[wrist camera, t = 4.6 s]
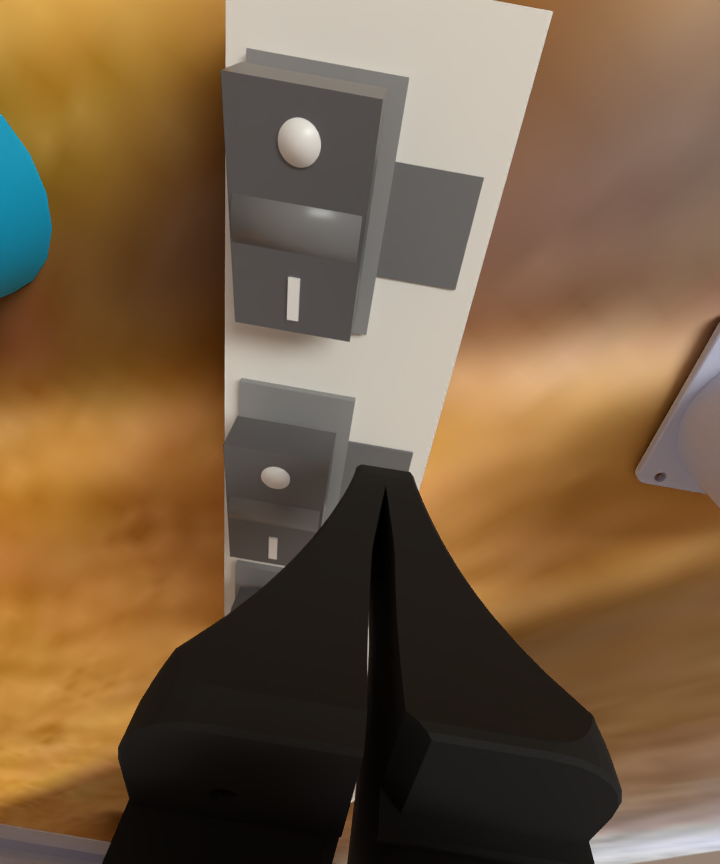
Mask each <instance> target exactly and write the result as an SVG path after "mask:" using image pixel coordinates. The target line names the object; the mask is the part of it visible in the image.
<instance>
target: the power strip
mask: <svg viewBox="0 0 720 864" xmlns="http://www.w3.org/2000/svg"><path fill="white" fill-rule="evenodd" d="M552 13H553V11H548V10H542V9H537V8H532V7H526V6H521V5H515V4H510V3H504V2H499V1H493V0H226V68H227V67H229V66H232V65H235V64H237V63H240V62H246V63H251V64H257V65H262V66H268V67H273V68H279V69H284V70H290V71H295V72H301V73H306V74H312V75H317V76H323V77H328V78H334V79H339V80H345V81H350V82H356V83H361V84H367V85H372V86H378V87H384V88H388V91H387V98H386V105H385V112H384V119H383V126H382V133H381V140H380V147H379V154H378V161H377V168H376V175H375V183H374V190H373V197H372V204H371V211H370V218H369V225H368V232H367V239H366V246H365V253H364V260H363V267H362V274H361V281H360V288H359V295H358V303H357V310H356V317H355V321H354V325H353V329H352V334H351V338H350V342H347V341H341V340H335V339H330V338H324V337H318V336H313V335H307V334H301V333H296V332H290V331H284V330H278V329H273V328H267V327H261V326H256V325H250V324H244V323H239V322H235V313H234V295H233V278H232V260H231V242H230V225H229V207H228V190H227V172H226V155H225V440H226V438H227V436H228V434H229V432H230V430H231V428H232V426H233V424H234V422H235V420H236V418H237V416H241V417H247V418H253V419H259V420H264V421H270V422H276V423H282V424H287V425H293V426H299V427H305V428H310V429H316V430H322V431H328V432H333V433H337V434H336V441H335V448H334V455H333V462H332V469H331V476H330V483H329V490H328V497H327V504H326V511H325V518H324V522H325V521H326V520H327V519H328V517H329V516H330V514H331V513H332V512H333V510H334V509H335V507H336V506H337V504H338V503H339V501H340V500H341V498H342V497H343V495H344V493H345V491H346V490H347V488H348V486H349V484H350V482H351V480H352V478H353V476H354V473H355V470H356V467H357V466H359V465H361V464H363V465H370V466H376V467H382V468H388V469H394V470H401V471H407V472H411V474H412V475H413V476H414V479H415V483H416V485H417V488H418V491H419V490H420V486H421V482H422V479H423V475H424V472H425V468H426V465H427V461H428V457H429V454H430V450H431V447H432V443H433V439H434V436H435V432H436V429H437V425H438V422H439V418H440V414H441V411H442V407H443V404H444V400H445V397H446V393H447V389H448V386H449V382H450V379H451V375H452V371H453V368H454V364H455V361H456V357H457V354H458V350H459V346H460V343H461V339H462V336H463V332H464V329H465V325H466V321H467V318H468V314H469V311H470V307H471V303H472V300H473V296H474V293H475V289H476V286H477V282H478V278H479V275H480V271H481V268H482V264H483V260H484V257H485V253H486V250H487V246H488V243H489V239H490V235H491V232H492V228H493V225H494V221H495V218H496V214H497V210H498V207H499V203H500V200H501V196H502V192H503V189H504V185H505V182H506V178H507V175H508V171H509V167H510V164H511V160H512V157H513V153H514V150H515V146H516V142H517V139H518V135H519V132H520V128H521V124H522V121H523V117H524V114H525V110H526V107H527V103H528V99H529V96H530V92H531V89H532V85H533V82H534V78H535V74H536V71H537V67H538V64H539V60H540V56H541V53H542V49H543V46H544V42H545V39H546V35H547V31H548V28H549V24H550V21H551V17H552ZM284 567H285V566H283V565H277V564H271V563H265V562H259V561H253V560H247V559H242V558H236V557H230V548H229V532H228V515H227V499H226V482H225V466H224V617H225V616H226V615H228V614H229V613H230V612H231V607H232V605H233V603H234V600H235V598H236V596H237V594H238V591H239V589H240V587H244V588H250V589H256V590H260V589H261V588H262V587H263V586H264V585H266V584H267V583H268V582H269V581H270V580H271V579H272V578H273V577H274V576H276V575H277V574H278V573H279V572H280V571H281V570H282V569H283V568H284ZM368 655H369V619H368V654H367V673H368Z"/></svg>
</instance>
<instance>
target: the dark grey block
mask: <svg viewBox="0 0 720 864" xmlns="http://www.w3.org/2000/svg"><path fill="white" fill-rule="evenodd" d="M221 84H222V102H223V120H224V137H225V155H226V172H227V190H228V207H229V225H230V242H231V260H232V278H233V295H234V313H235V322H239V323H244V324H250V325H256V326H261V327H267V328H273V329H278V330H284V331H290V332H296V333H301V334H307V335H313V336H318V337H324V338H330V339H335V340H341V341H347V342H350V338H351V334H352V329H353V325H354V321H355V317H356V310H357V303H358V295H359V288H360V281H361V274H362V267H363V260H364V253H365V246H366V239H367V232H368V225H369V218H370V211H371V204H372V197H373V190H374V183H375V175H376V168H377V161H378V154H379V147H380V140H381V133H382V126H383V119H384V112H385V105H386V98H387V91H388V88H384V87H378V86H372V85H367V84H361V83H356V82H350V81H345V80H339V79H334V78H328V77H323V76H317V75H312V74H306V73H301V72H295V71H290V70H284V69H279V68H273V67H268V66H262V65H257V64H251V63H246V62H240V63H237V64H235V65H232V66H229V67H227V68H224V69H222V70H221Z"/></svg>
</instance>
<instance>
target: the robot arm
mask: <svg viewBox="0 0 720 864" xmlns="http://www.w3.org/2000/svg"><path fill="white" fill-rule="evenodd" d="M658 473H662V474H661V475H659V476H657V477H655V475H656V474H658ZM635 476H636V477H637V479H638V480H639V481H640V482H642V483H645V484H651V485H657V486H663V487H668V488H674V489H680V490H686V491H691V492H697V493H703V494H707V495H708V496H709V497H710V498H711V500H712V501H713V502H714V503H715V504H716V505H717V506H718V508H719V509H720V322H719V324H718V325H717V327H716V329H715V331H714V332H713V334H712V336H711V338H710V339H709V341H708V343H707V345H706V347H705V348H704V350H703V352H702V354H701V355H700V357H699V359H698V361H697V362H696V364H695V366H694V368H693V369H692V371H691V373H690V375H689V376H688V378H687V380H686V382H685V383H684V385H683V387H682V389H681V390H680V392H679V394H678V396H677V397H676V399H675V401H674V403H673V405H672V406H671V408H670V410H669V412H668V413H667V415H666V417H665V419H664V420H663V422H662V424H661V426H660V427H659V429H658V431H657V433H656V434H655V436H654V438H653V440H652V441H651V443H650V445H649V447H648V448H647V450H646V452H645V454H644V455H643V457H642V459H641V461H640V462H639V464H638V466H637V468H636V470H635ZM368 619H369V655H368V673H367V654H368ZM118 760H119V763H120V767H121V770H122V774H123V778H124V781H125V785H126V788H127V792H128V796H129V801H128V804H127V806H126V808H125V811H124V813H123V815H122V818H121V820H120V822H119V825H118V827H117V829H116V832H115V834H114V836H113V839H112V841H111V842H107V841H101V840H95V839H89V838H83V837H77V836H71V835H65V834H59V833H53V832H47V831H41V830H35V829H29V828H23V827H17V826H11V825H5V824H0V864H332V861H333V858H334V854H335V850H336V847H337V843H338V839H339V837H341V835H342V832H343V828H344V825H345V821H346V818H347V814H348V810H349V807H350V803H351V800H352V796H353V793H354V789H355V785H356V791H355V800H354V809H353V818H352V827H351V836H350V845H349V854H348V862H347V864H594V860H593V856H592V852H591V848H590V844H589V841H590V839H591V838H592V837H593V836H594V835H595V834H596V833H597V832H598V831H599V830H600V829H601V828H602V827H603V826H604V825H605V824H606V823H607V822H608V821H609V820H610V819H611V818H612V816H613V815H614V813H615V812H616V810H617V809H618V807H619V805H620V804H621V798H622V790H621V787H620V784H619V781H618V778H617V775H616V772H615V769H614V766H613V763H612V760H611V757H610V754H609V752H608V749H607V747H606V744H605V742H604V740H603V738H602V735H601V733H600V731H599V729H598V727H597V724H596V722H595V719H594V717H593V715H592V714H591V713H589V712H588V711H587V710H586V709H585V708H584V707H583V706H582V705H581V704H579V703H578V702H577V701H576V700H575V699H574V698H573V697H572V696H571V695H569V694H568V693H567V692H566V691H565V690H564V689H563V688H562V687H561V686H559V685H558V684H557V683H556V682H555V681H554V680H553V679H552V678H551V677H549V676H548V675H547V674H546V673H545V672H544V671H543V670H542V669H541V668H540V667H539V666H538V665H537V664H536V663H535V662H534V661H533V660H532V659H531V658H530V657H529V656H528V655H527V654H526V653H525V651H524V650H523V649H522V648H521V647H520V646H519V645H518V644H517V643H516V642H515V641H514V640H513V639H512V637H511V636H510V635H509V634H508V633H507V632H506V630H505V629H504V628H503V627H502V626H501V625H500V624H499V622H498V621H497V620H496V619H495V618H494V617H493V615H492V614H491V613H490V612H489V611H488V609H487V608H486V607H485V605H484V604H483V603H482V601H481V600H480V599H479V598H478V596H477V595H476V593H475V592H474V591H473V589H472V588H471V586H470V585H469V584H468V582H467V581H466V579H465V578H464V576H463V575H462V573H461V572H460V570H459V569H458V567H457V565H456V564H455V562H454V561H453V559H452V557H451V556H450V554H449V552H448V551H447V549H446V547H445V545H444V544H443V542H442V540H441V538H440V536H439V534H438V532H437V530H436V528H435V526H434V524H433V522H432V520H431V518H430V516H429V514H428V512H427V510H426V508H425V505H424V503H423V501H422V498H421V496H420V493H419V491H418V488H417V485H416V483H415V479H414V476H413V475H412V474H411V472H407V471H401V470H394V469H388V468H382V467H376V466H370V465H363V464H361V465H359V466H357V467H356V470H355V473H354V476H353V478H352V480H351V482H350V484H349V486H348V488H347V490H346V491H345V493H344V495H343V497H342V498H341V500H340V501H339V503H338V504H337V506H336V507H335V509H334V510H333V512H332V513H331V514H330V516H329V517H328V519H327V520H326V521H325V522H324V524H323V525H322V526H321V527H320V529H319V530H318V531H317V532H316V534H315V535H314V536H313V537H312V539H311V540H310V541H309V542H308V543H307V544H306V545H305V547H304V548H303V549H302V550H301V551H300V552H299V553H298V554H297V555H296V556H295V557H294V558H293V559H292V560H291V561H290V562H289V563H288V564H287V565H286V566H285V567H284V568H283V569H282V570H281V571H280V572H279V573H278V574H277V575H276V576H274V577H273V578H272V579H271V580H270V581H269V582H268V583H267V584H266V585H264V586H263V587H262V588H261V589H260V590H259V591H257V592H256V593H255V594H254V595H252V596H251V597H250V598H248V599H247V600H246V601H244V602H243V603H242V604H241V605H239V606H238V607H237V608H235V609H234V610H233V611H232V612H230V613H229V614H228V615H226V616H225V617H223V618H222V619H221V620H219V621H218V622H216V623H215V624H213V625H212V626H210V627H209V628H207V629H206V630H204V631H202V632H201V633H199V634H198V635H196V636H195V637H193V638H192V639H190V640H189V641H187V642H186V643H184V644H182V645H181V646H179V647H178V648H176V649H175V651H174V652H173V653H172V654H171V656H170V657H169V658H168V660H167V661H166V663H165V664H164V665H163V667H162V668H161V669H160V671H159V672H158V674H157V675H156V677H155V678H154V680H153V681H152V683H151V685H150V686H149V688H148V690H147V691H146V693H145V694H144V696H143V698H142V699H141V701H140V703H139V705H138V707H137V709H136V711H135V713H134V715H133V717H132V719H131V721H130V723H129V726H128V728H127V730H126V732H125V734H124V736H123V738H122V740H121V742H120V745H119V747H118Z"/></svg>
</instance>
